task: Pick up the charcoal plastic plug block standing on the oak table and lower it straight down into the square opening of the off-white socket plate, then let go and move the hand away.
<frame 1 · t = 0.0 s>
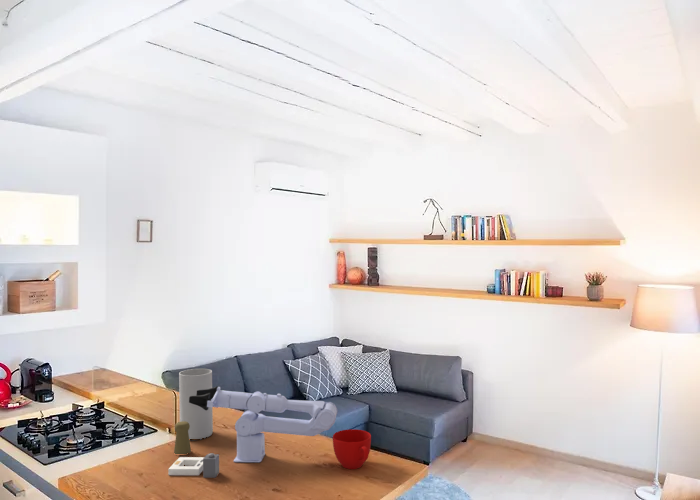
hand: (193, 396, 189), 22 cm above the worktop, tool horizontal, fingers open, 7 cm apart
socket plate: (188, 468, 180), on the worktop
olive tapered pepper mill: (182, 453, 195), on the worktop
ceramic cup: (354, 467, 180), on the worktop
cylinder vase: (196, 435, 213), on the worktop
plug: (211, 475, 175), on the worktop
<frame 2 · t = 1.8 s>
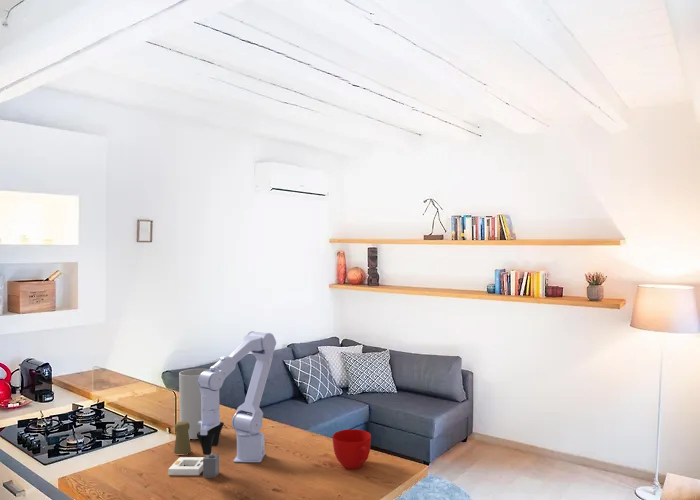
hand: (210, 450, 175), 8 cm above the worktop, tool pointing down, fingers open, 7 cm apart
nothing on the worktop moved.
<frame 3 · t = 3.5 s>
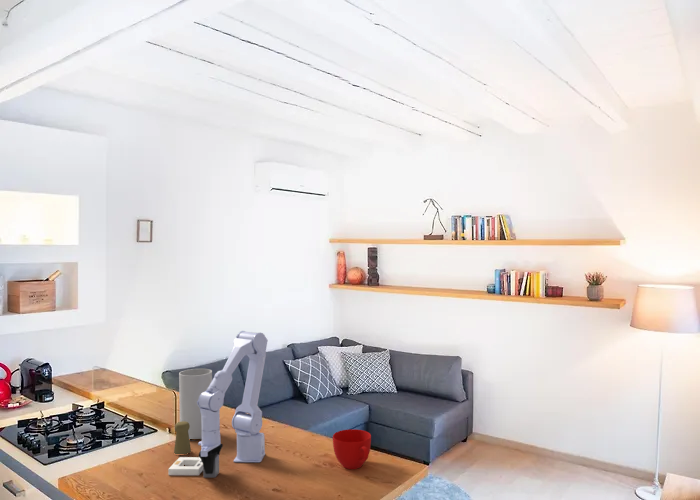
hand: (211, 470, 175), 1 cm above the worktop, tool pointing down, fingers closed on plug, 4 cm apart
plug: (211, 474, 175), on the worktop, touching gripper
everything else where it was.
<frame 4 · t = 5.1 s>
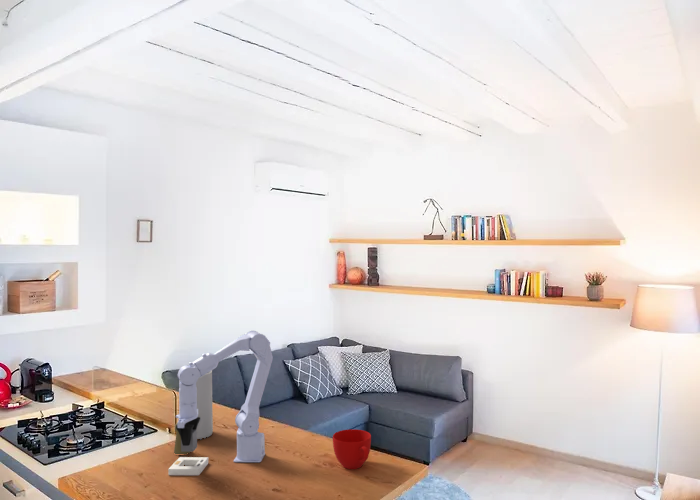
hand: (188, 442, 180), 9 cm above the worktop, tool pointing down, fingers closed on plug, 4 cm apart
plug: (189, 449, 180), point 7 cm above the worktop, touching gripper
everything else where it was.
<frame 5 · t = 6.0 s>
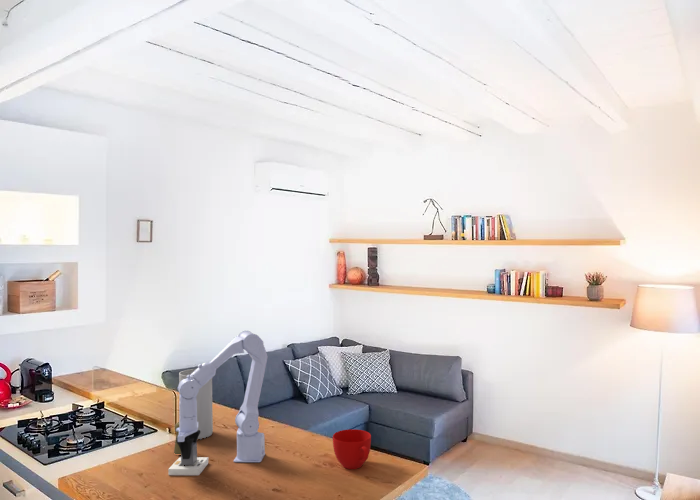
hand: (188, 456, 180), 4 cm above the worktop, tool pointing down, fingers closed on plug, 4 cm apart
plug: (189, 462, 180), point 2 cm above the worktop, touching gripper
everything else where it was.
when the fingers open (3 cm above the worktop, at t = 6.8 s): plug stays where it is, resting in socket plate.
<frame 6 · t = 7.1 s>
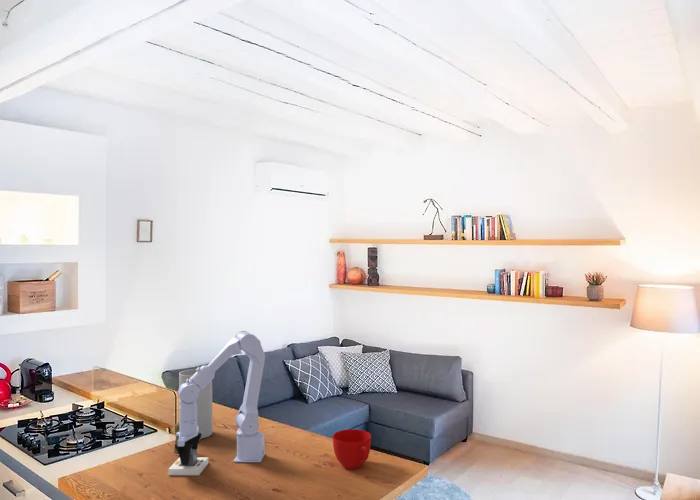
hand: (188, 460, 180), 3 cm above the worktop, tool pointing down, fingers open, 6 cm apart
plug: (189, 469, 180), resting in socket plate
everything else where it was.
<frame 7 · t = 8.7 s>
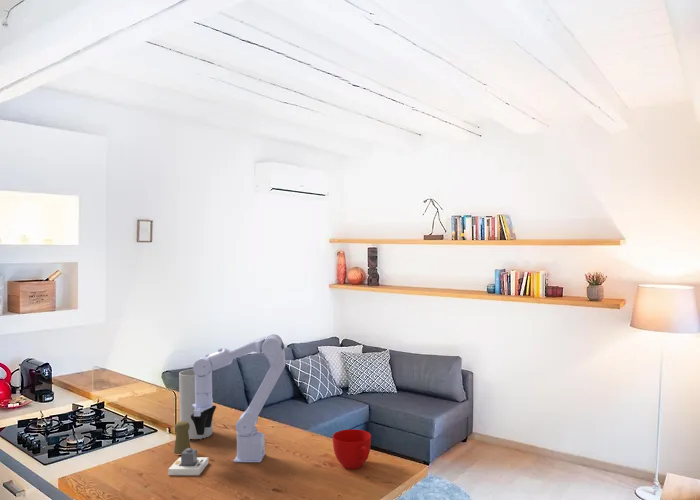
hand: (204, 430, 188), 10 cm above the worktop, tool pointing down, fingers open, 7 cm apart
nothing on the worktop moved.
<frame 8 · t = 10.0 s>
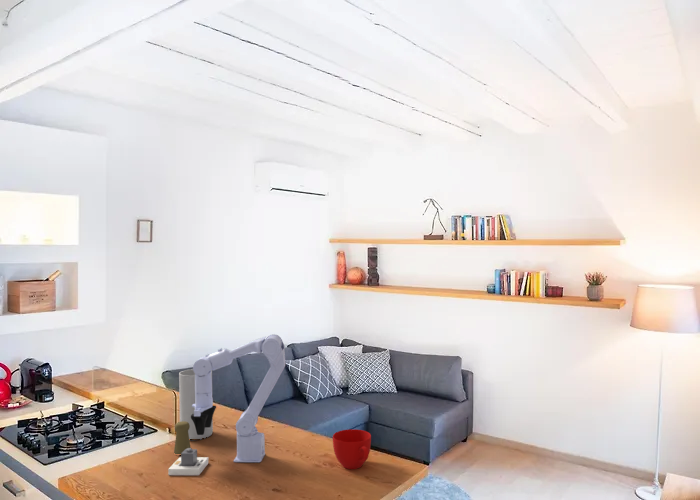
hand: (204, 430, 188), 10 cm above the worktop, tool pointing down, fingers open, 7 cm apart
nothing on the worktop moved.
at the end: plug 0.2 cm off-centre on the socket plate, point 0.0 cm above the socket plate's base; plug tilted 0°; the gripper is holding nothing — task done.
